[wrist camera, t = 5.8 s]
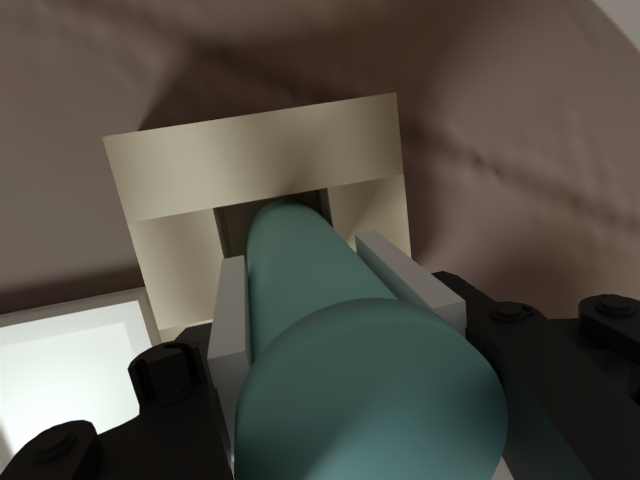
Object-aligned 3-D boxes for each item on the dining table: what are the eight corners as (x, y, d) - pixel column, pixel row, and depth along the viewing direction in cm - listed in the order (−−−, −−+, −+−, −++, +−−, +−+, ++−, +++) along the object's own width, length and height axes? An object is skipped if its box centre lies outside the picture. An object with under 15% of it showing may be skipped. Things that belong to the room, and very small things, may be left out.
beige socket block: (191, 343, 24) (177, 396, 20) (135, 134, 21) (102, 136, 16) (387, 301, 26) (419, 341, 21) (364, 99, 22) (396, 92, 18)
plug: (248, 295, 21) (264, 595, 7) (227, 200, 19) (202, 363, 6) (342, 275, 21) (510, 519, 8) (328, 182, 20) (504, 293, 7)
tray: (7, 491, 25) (-13, 521, 23) (-69, 327, 22) (-99, 347, 20) (193, 446, 26) (189, 471, 24) (146, 286, 23) (137, 300, 21)
